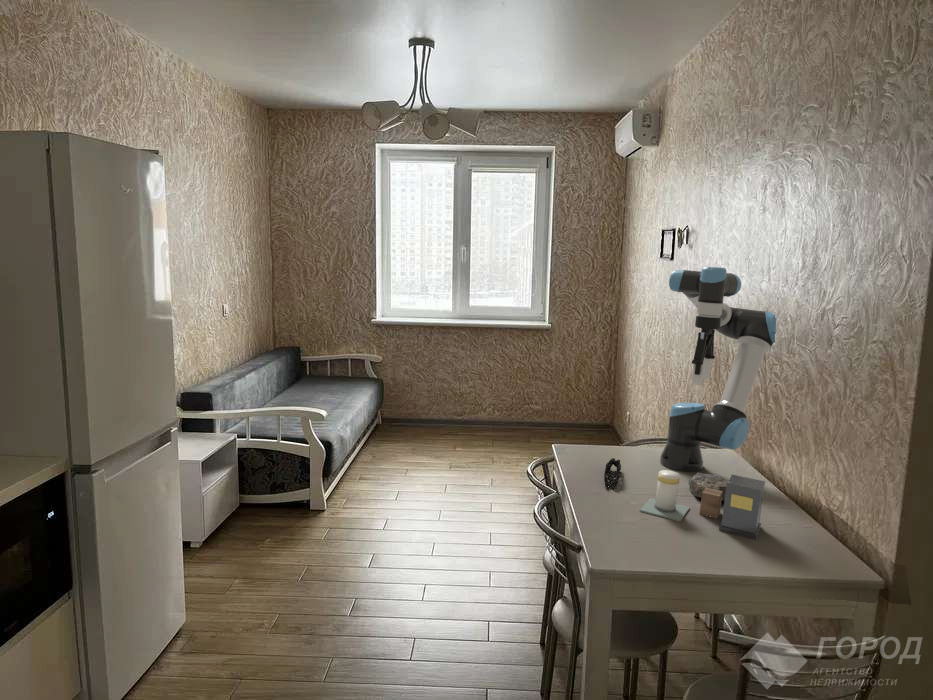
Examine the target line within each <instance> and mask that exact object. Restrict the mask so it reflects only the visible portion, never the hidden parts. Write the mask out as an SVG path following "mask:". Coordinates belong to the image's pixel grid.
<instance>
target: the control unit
mask: <svg viewBox="0 0 933 700" xmlns="http://www.w3.org/2000/svg"><path fill="white" fill-rule="evenodd" d="M726 482H727V485H726V493H725V501H724V502H723V503H724V504H723V511H722V519H721V522H720V524H719V525H718V531H722V532H725V533H730V534H734V535H738V536H741V537H745V538H749V539H753V538H754V539H753V540H757V539H758V535H759V534H760V531H761V529H762V528H761V527H762V523H761V521H760V520H761V514H762V506H763V500H764V493H765V484H766V481H765V480H761V479H756V478H751V477H745V476H741V475H736V474H731V476H730V477H729V479H728V480H727V481H726Z"/></svg>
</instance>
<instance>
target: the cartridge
mask: <svg viewBox="0 0 933 700" xmlns="http://www.w3.org/2000/svg"><path fill="white" fill-rule="evenodd" d="M680 478H681V477H680V474H679V473H678V472H676V471H674V470H669V469H666V470H665V469H664V470H663V469H662V470H661V469H660V471H658V474H657V486H656V493H655V494H656V495H655V499H656V501H655V508H656V509H657V510H659V511H663V512H674V511H676V504H677V500H678V499H677V498H678V491H679V485H680Z"/></svg>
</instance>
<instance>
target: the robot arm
mask: <svg viewBox="0 0 933 700" xmlns="http://www.w3.org/2000/svg"><path fill="white" fill-rule="evenodd" d="M668 286H669V289H670V290H671V291H672V292H676V293H682V294H683V295H684V296H685V297H686V298H687V299H688V300H689V301H690V302H691V303H692V304H693V305H694V306H695V308H696V314H697V315H696V316H695V323H694V325H695V327H696V328H698V329H701V332H699V331H698V334H697V342H696V345H695V351H694V355H693V360H691V364H693V371H692V379H691V384H692V385H695V386H702V381H703V379H708V380H710V378H711V371H712V363H713V360H714V359H715V350H714V349H715V332H718V333H719V334H722V335H723V336H725V337H727V338H729V339H732V340H737V343H738V345H739V348H738V350H737V353H736V356H735V359H734V362H733V364H732V367H731V370H730V373H729V376H728V378H727V380H726V383H725V387H724V388H723V389H724V390H723V391H722V395H721V397H720V400H719V402H717V403H715V404H714V405H713V406H712V409H711V410H709V409H706V405H705V404H703V403H700V402H679V403H674V404H673V405H672V406H670V407H671V408H670V412H669V413H670V414H669V421H668V429H667V438H666V439H667V441H666V443H665V446H664V448H663V450H662V452H661V454H660V457H659V463H660V462H661V463H660V464H661V465H662V464H663V466H664V465H665V466H664V467H666V466H667V468H668V469H672V470H676V471H681V470H683V472H698V471H701V470H702V469H703V466H704V460H703V455H702V450H701V443H703V444H707V445H711V446H715V447H720V448H721V449H729V450H737V449H739V448H740V447H742V446H743V444H744V443H745V441H746V440H747V437H748V435H749V430H750V421H749V420H748V418H747V417H748V415H747V413H746V412H745V408H746V407H747V404H748V401H749V398H750V396H751V392H752V389H753V386H754V383H755V381H756V378H757V374H758V373H759V370H760V366H761V364H762V361H763V358H764V356H765V354H766V353H768V352H770V350H771V349H772V347H773V345H772V344H773V343H774V342H775V334H776V318H775V315H774V314H773V313H774V312H773V313H772V311H768V310H765V311H763V310H755V309H747V308H746V309H745V308H741V307H740V308H738V307H734V306H733V307H731V306H729V305H728V304H726V303H724V298H725V297H726V298H729V297H732V296H735V295H736V294H738V293H739V291H740V290H741V288H742V281H741V278H740V277H739V276H738V275H737V274H735V273H731V272H730V273H729V272H728V271H727V269H726V268H725V267H721V266H719V267H718V266H703V267H702V269H701V271H699V270H691V269H690V270H688V269H675V270H673V271H671V274H670V276H669V280H668Z"/></svg>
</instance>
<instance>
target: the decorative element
mask: <svg viewBox="0 0 933 700" xmlns="http://www.w3.org/2000/svg"><path fill="white" fill-rule="evenodd" d="M612 466H614V467H615V468H616V471H615V472H613V471H612V470H611V468H612ZM621 469H622V464H621V460H620V459H617V460H616V458H614V457H612V458H610V460H608V462H607V463H606V464H605V469H604V477H603V479H604V487H605V488H606V489H607V488H608V489H607V490H610V489H609V488H611V489H612V490H615V489H616V488H617V486H618V484H619V483H618V482H619V479H620V474H621V473H620V472H621ZM610 478H611V479H610ZM608 486H609V487H608ZM611 486H612V487H611Z"/></svg>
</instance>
